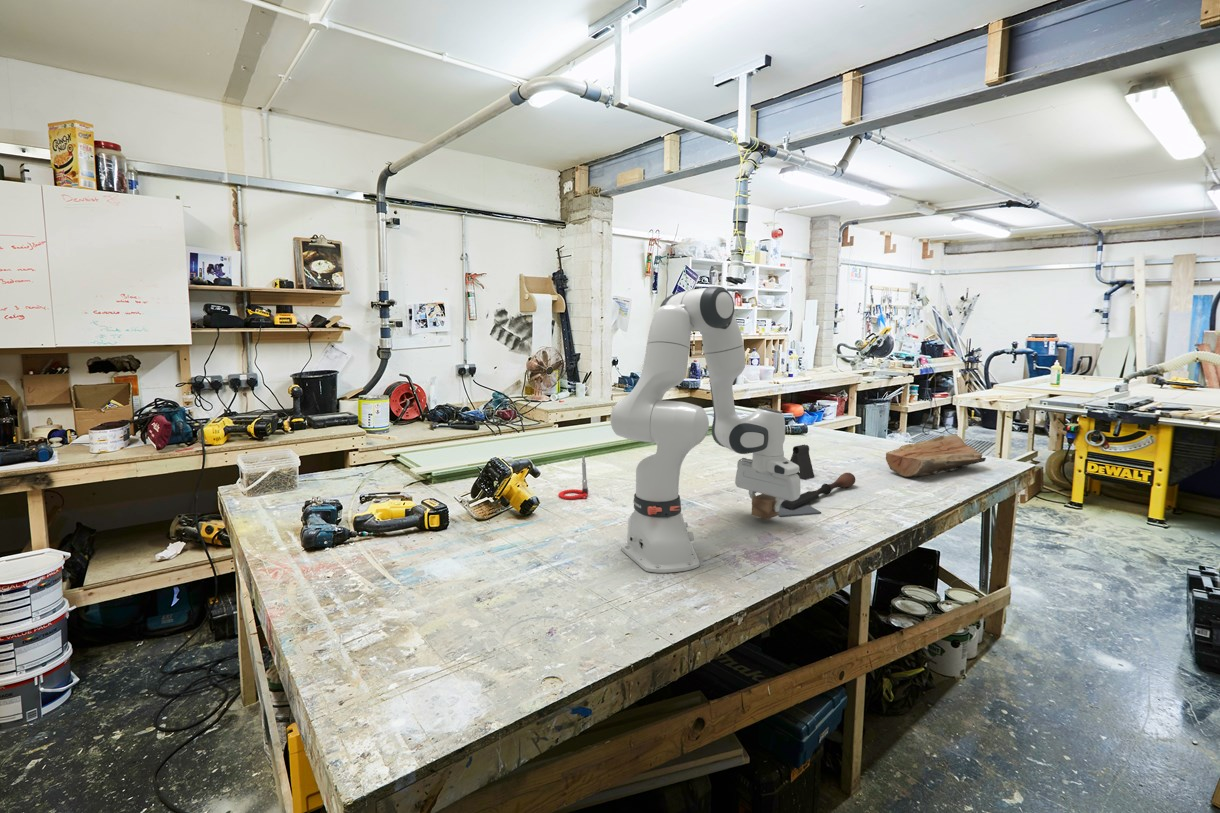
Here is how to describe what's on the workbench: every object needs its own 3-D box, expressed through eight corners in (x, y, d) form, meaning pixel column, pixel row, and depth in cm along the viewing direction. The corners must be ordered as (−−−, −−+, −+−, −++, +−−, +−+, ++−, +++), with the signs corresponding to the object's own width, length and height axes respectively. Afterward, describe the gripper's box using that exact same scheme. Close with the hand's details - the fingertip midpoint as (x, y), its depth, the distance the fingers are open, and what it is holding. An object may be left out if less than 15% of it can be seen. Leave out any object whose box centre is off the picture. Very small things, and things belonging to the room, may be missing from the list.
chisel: (857, 486, 204) (859, 473, 203) (792, 515, 177) (794, 500, 175) (844, 482, 208) (846, 469, 207) (778, 509, 180) (780, 495, 179)
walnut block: (777, 515, 168) (779, 497, 168) (767, 519, 165) (768, 501, 164) (761, 511, 172) (762, 493, 172) (751, 514, 169) (752, 497, 168)
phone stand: (814, 477, 215) (816, 446, 214) (804, 480, 212) (806, 448, 210) (795, 472, 223) (796, 442, 221) (784, 474, 219) (786, 444, 218)
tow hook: (556, 501, 187) (586, 500, 187) (554, 460, 185) (584, 459, 185) (560, 493, 196) (589, 492, 196) (558, 454, 194) (587, 453, 194)
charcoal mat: (821, 513, 175) (821, 512, 175) (780, 517, 172) (780, 515, 172) (796, 499, 189) (796, 498, 189) (758, 502, 185) (758, 501, 185)
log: (954, 460, 241) (951, 426, 239) (996, 466, 225) (993, 430, 223) (884, 487, 225) (880, 451, 223) (923, 496, 209) (919, 458, 207)
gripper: (732, 458, 172) (729, 502, 174) (793, 471, 157) (790, 519, 159) (744, 455, 176) (742, 498, 178) (804, 467, 161) (801, 514, 163)
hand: (765, 508), depth 168 cm, fingers closed on walnut block, 5 cm apart
